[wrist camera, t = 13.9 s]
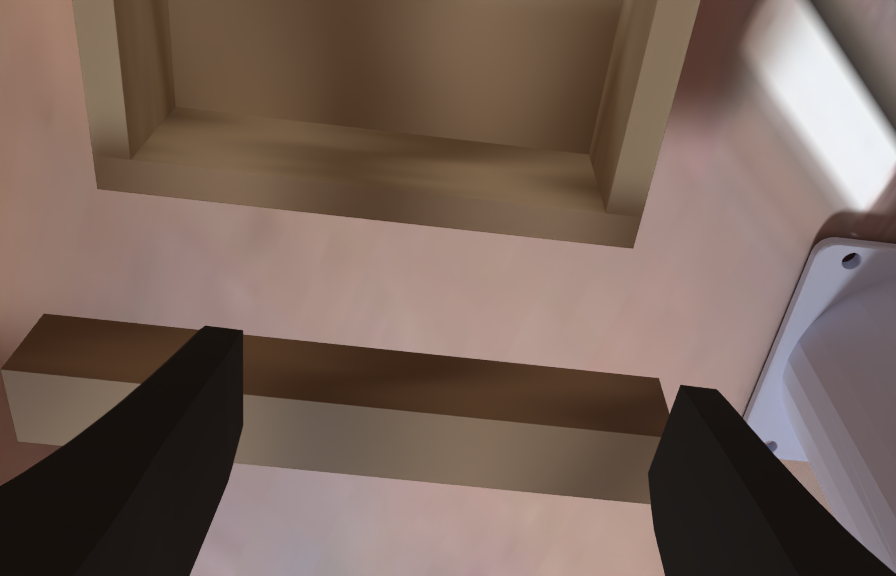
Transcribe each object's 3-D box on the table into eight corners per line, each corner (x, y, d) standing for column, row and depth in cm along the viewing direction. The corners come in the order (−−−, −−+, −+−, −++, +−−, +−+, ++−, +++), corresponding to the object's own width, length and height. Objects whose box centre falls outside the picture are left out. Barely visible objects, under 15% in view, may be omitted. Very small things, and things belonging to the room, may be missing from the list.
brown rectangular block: (658, 378, 19) (676, 438, 17) (638, 441, 20) (653, 504, 18) (43, 313, 18) (0, 369, 17) (56, 382, 19) (17, 441, 18)
